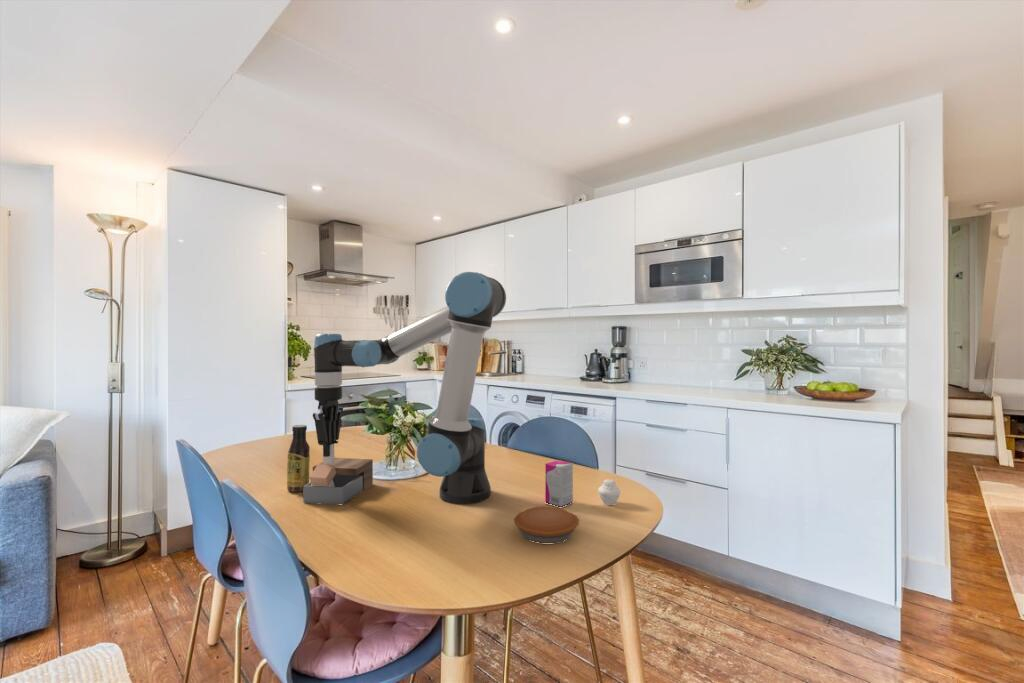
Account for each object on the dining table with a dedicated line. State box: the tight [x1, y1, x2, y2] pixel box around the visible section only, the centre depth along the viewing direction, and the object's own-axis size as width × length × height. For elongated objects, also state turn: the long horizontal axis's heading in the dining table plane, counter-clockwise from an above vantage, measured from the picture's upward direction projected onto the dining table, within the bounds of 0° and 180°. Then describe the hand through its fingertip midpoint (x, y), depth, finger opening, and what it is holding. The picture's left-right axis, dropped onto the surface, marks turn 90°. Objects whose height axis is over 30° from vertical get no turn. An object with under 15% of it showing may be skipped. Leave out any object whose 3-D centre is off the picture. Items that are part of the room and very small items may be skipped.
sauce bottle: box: [286, 424, 311, 493], centre depth 146 cm, size 6×6×20 cm
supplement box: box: [544, 459, 574, 508], centre depth 133 cm, size 6×6×12 cm
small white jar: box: [597, 478, 621, 506], centre depth 133 cm, size 6×6×7 cm
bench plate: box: [312, 457, 374, 491], centre depth 146 cm, size 14×11×8 cm
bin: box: [302, 475, 364, 506], centre depth 139 cm, size 12×12×5 cm
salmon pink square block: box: [309, 463, 336, 486], centre depth 135 cm, size 5×5×3 cm
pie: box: [513, 505, 580, 544], centre depth 112 cm, size 15×16×5 cm
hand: (328, 466), depth 138 cm, fingers closed
